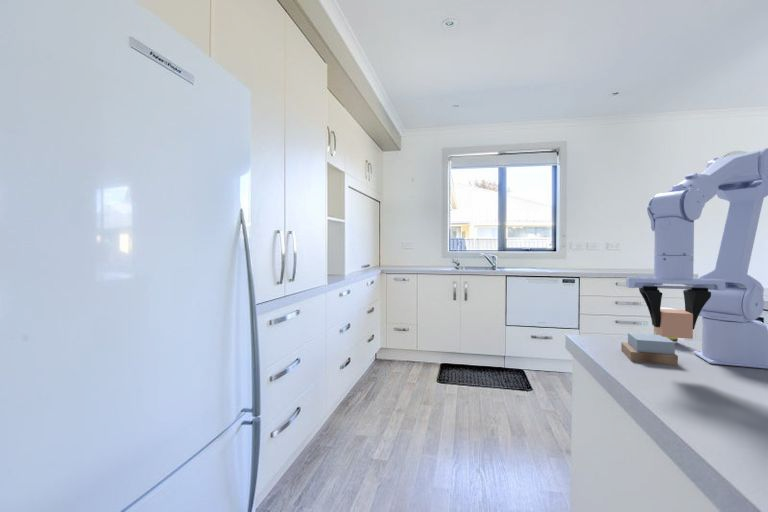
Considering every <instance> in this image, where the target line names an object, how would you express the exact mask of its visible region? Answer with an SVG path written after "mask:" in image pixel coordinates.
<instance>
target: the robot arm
mask: <svg viewBox="0 0 768 512" xmlns="http://www.w3.org/2000/svg"><path fill="white" fill-rule="evenodd" d="M684 178H685V179H684V180H682V181H681V182H679V183H678V184H675V185H673V186H672V187H671V189H669V190H668V191H667V192H659V193H657V194H655V196H652V197H651V198H650V200H649V203H648V206H647V207H646V210H647V216H648V218H649V220H650V229H651V231H652V232H654V247H653V248H654V252H653V253H654V254H653V256H654V258H653V261H654V263H653V265H654V266H653V274H654V275H653V276H652V277H651V276H650V277H649V276H648V277H647V276H645V277H640V276H639V277H638V276H637V277H636V276H635V277H631V276H630V277H626V279H625V280H626V281H625V282H626V284H625V287H626V288H627V289H628V288H629V289H635V288H636V289H637V288H638V290H639V293H640V294H641V296H642V298H643V300H644V302H645V304H646V306H647V309H648V312H649V314H650V318H651V325H652V326H653V327H654V326H655V327H660V323H661V317H660V307H662V300H663V299H662V298H663V292H662V291H660V289H666V290H669V289H671V290H672V289H673V290H679V289H680V290H682V293H683V299H684V307H685V308H684V311H687V312H689V313H692V314H693V331H694V330H695V327H696V325H697V321H698V318H699V317H702V318H701V319H702V320H701V323H702V324H701V325H702V326H701V350H700V351H699V350H693V352H692V353H693V354H695V355H696V356H698V357H700V358H701V359H702V360H704V361H705V362H707V363H709V364H713V365H725V366H735V367H736V366H737V367H746V368H755V369H756V368H757V369H759V368H760V369H768V327H767V326H766V324H765V323H764V322H762V321H761V320H757V319H758V318H760V317H761V316H762V313H763V311H764V307H765V300H764V291H765V288H764V286H763V284H762V283H761V282H760V281H758V280H757V279H756V278H754V277H753V276H751V275H749V273H748V271H749V266H750V262H751V258H752V252H753V248H754V244H755V241H756V240H755V239H756V235H757V230H758V225H759V219H760V216H761V212H762V208H763V203H764V200H765V198H766V197H768V147H766V148H763V149H761V150H760V149H759V150H755V151H749V152H744V153H739V154H733V155H728V156H723V157H714V158H713V157H712V159H710V160H709V161H707V164H706V169H705V170H704V171H703V172H702V173H698V172H694V173H689V174H686V175H685V176H684ZM716 196H717V198H718V199H721V200H724V201H727V202H729V206H728V210H727V215H726V220H725V224H724V227H723V232H722V237H721V241H720V245H719V250H718V255H717V258H716V263H715V267H714V270H712V271H710V272H708V273H705V274H704V275H702V276H700V277H699V278H695V277H694V263H695V262H694V261H695V258H694V255H695V254H694V253H695V250H694V249H695V247H694V246H695V242H694V241H695V221H696V220H699V218H701V216H702V212H703V209H704V208H705V205H706V203H708V202H709V201H711V200H712V199H713V198H714V197H716Z"/></svg>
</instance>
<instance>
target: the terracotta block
mask: <svg viewBox="0 0 768 512" xmlns="http://www.w3.org/2000/svg"><path fill="white" fill-rule="evenodd" d="M675 309H676V308H674V309H660V317H661V323H660V327H655V326H653V332H654V331H655V332H656V333H658V334H659V335H661V336H662V337H674V338H678V339H689V340H690V339H692V340H693V338H694V337H693V335H694V330H693V314H692V313H689V312H687V311H685V309H676V310H675Z"/></svg>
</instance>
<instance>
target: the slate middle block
mask: <svg viewBox="0 0 768 512" xmlns="http://www.w3.org/2000/svg"><path fill="white" fill-rule="evenodd" d="M627 343H628V344H629V345H630V346H631V347H632V348H633V349H635V350H636V351H637V352H649V353H661V354H673V355H675V354H676V351H675V350H676V343H675V342H673V341H672V340H670V339H668V338H667V337H662V336H661V335H654V333H653V334H652V333H639V332H638V333H636V332H634V333H633V332H627Z"/></svg>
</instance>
